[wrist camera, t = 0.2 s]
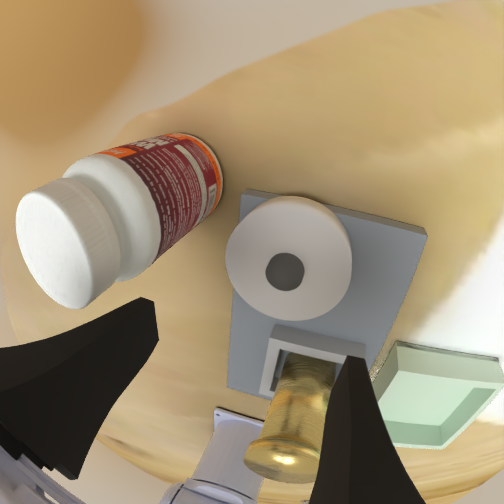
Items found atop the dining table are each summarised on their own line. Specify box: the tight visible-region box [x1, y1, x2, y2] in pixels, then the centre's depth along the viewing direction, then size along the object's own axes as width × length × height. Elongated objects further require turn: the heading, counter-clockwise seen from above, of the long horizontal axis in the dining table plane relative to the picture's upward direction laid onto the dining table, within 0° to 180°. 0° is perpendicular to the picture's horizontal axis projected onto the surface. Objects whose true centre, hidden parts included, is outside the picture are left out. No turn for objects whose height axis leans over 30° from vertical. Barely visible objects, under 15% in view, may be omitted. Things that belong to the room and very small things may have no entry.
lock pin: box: [243, 352, 337, 484], centre depth 18 cm, size 5×5×9 cm
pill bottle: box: [16, 133, 223, 309], centre depth 15 cm, size 6×6×11 cm
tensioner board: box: [225, 189, 428, 400], centre depth 20 cm, size 18×11×4 cm, turn 174°
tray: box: [372, 341, 504, 449], centre depth 20 cm, size 10×10×3 cm
